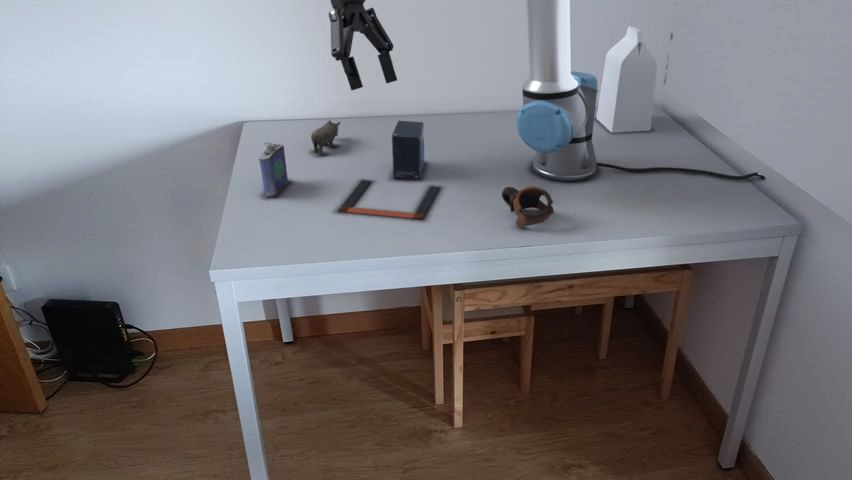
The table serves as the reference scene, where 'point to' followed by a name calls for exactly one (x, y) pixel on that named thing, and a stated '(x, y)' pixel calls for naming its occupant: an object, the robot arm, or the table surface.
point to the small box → (408, 150)
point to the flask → (273, 169)
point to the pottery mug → (528, 204)
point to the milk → (628, 85)
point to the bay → (418, 215)
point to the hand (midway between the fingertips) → (375, 85)
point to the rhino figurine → (324, 136)
